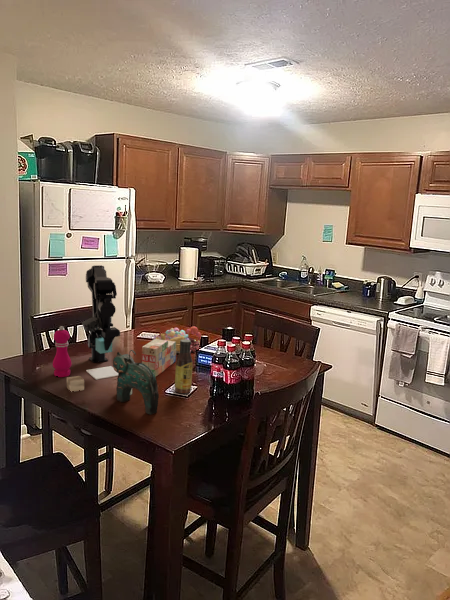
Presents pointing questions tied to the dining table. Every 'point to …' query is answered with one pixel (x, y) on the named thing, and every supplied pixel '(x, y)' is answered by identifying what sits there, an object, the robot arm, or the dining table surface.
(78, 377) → the birch block
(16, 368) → the dining table surface
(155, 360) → the stack of blocks
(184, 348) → the sauce bottle
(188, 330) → the pastel sphere sculpture
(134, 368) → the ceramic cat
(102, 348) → the teal block
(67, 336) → the pepper mill
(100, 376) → the white mat
